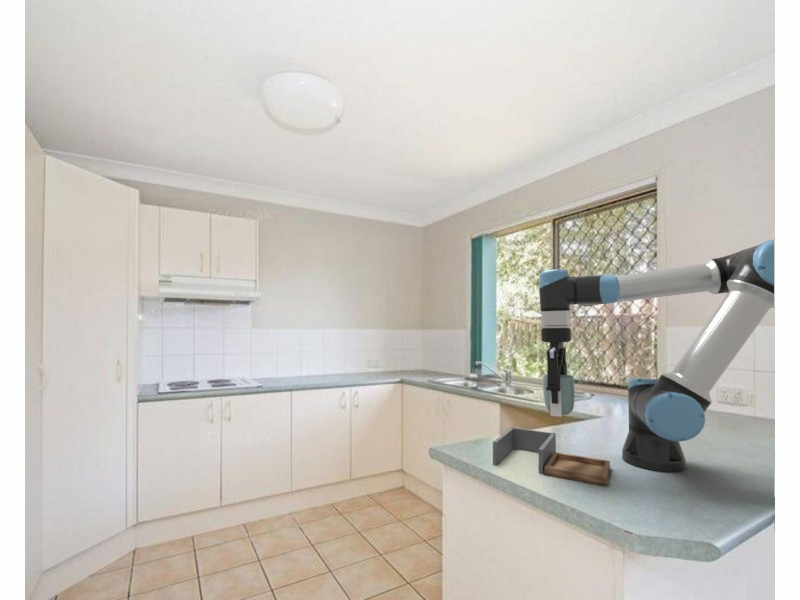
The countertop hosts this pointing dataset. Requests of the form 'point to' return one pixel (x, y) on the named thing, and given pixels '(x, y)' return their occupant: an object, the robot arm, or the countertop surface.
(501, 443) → the bay
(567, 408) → the cup
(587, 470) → the tray
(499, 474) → the countertop surface
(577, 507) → the countertop surface
